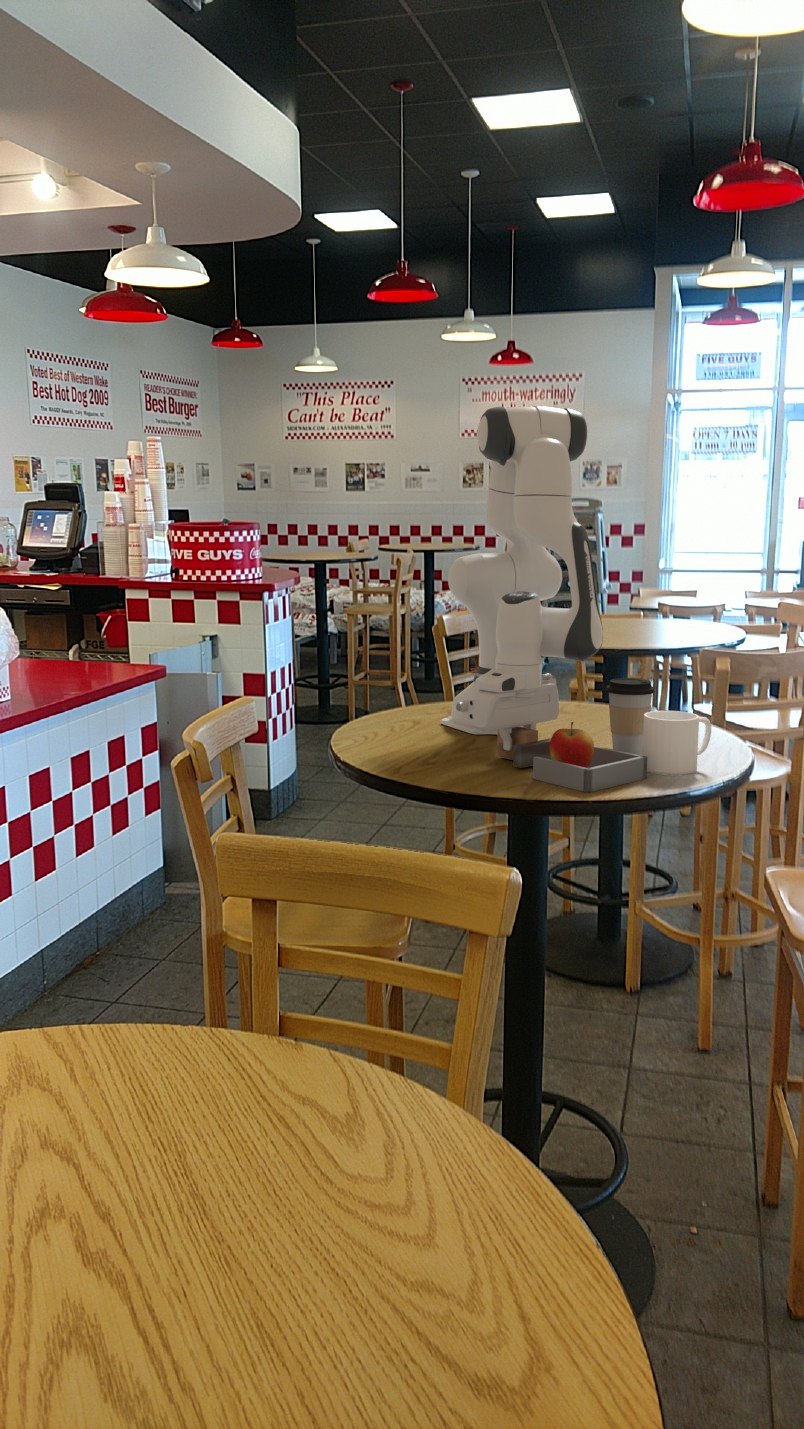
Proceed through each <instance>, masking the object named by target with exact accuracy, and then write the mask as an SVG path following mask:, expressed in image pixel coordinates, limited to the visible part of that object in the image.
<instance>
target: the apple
mask: <svg viewBox="0 0 804 1429" xmlns="http://www.w3.org/2000/svg"><path fill="white" fill-rule="evenodd" d="M570 724H571V725H570V727H571V728H559V729H557V730H555V731H554V732H553V734H552V735H551V741H550V747H549V748H550V757H551V760H555V761H559V762H563V763H568V764H572V765H576V766H581V767H585V768H590V767H589V765H590V763H591V761H592V758H593V754H594V746H595V743H594V739H593V738H592V736H591V735H590V734H589V733H588V732H586V731H585V730H583V729H581V728H580V729H579V728H573V724H574V721H571V723H570Z"/></svg>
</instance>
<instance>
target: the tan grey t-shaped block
mask: <svg viewBox="0 0 804 1429" xmlns="http://www.w3.org/2000/svg"><path fill="white" fill-rule="evenodd" d="M509 734H510V737H511V739H512V740H513V741H515V745H514V749H513V750H509V751H508V750H504V748H503V740H502V738H501V736H500V734H499V730H497V734H496V735H497V737H496V738H497V739H496V740H497V741H496V743H497V744H496V746H497V748H496V755H497V757H499V758H503V759H507V760H510V761H513V767H515V768H519V769H523V768H529V767H533V757H542V758H546V759H550V760H551V757H550V748H549V747H550V741H551V738H552V737H551V738H550V737H549V738H545V739H541V740H539V739H538V738H539V730H533V729H528V728H523V727H512V733H509Z"/></svg>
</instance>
